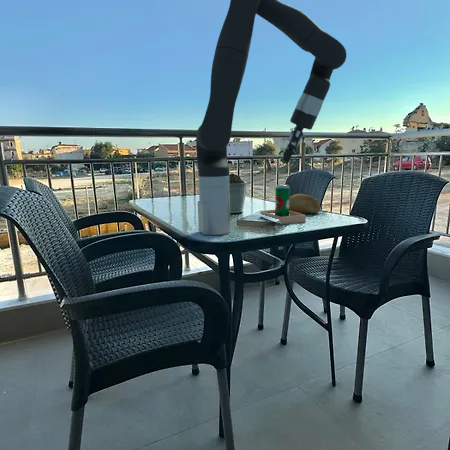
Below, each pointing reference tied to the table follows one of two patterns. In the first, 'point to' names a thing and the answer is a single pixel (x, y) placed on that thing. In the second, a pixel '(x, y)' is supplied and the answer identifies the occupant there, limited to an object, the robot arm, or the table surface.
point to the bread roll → (303, 204)
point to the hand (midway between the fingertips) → (285, 159)
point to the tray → (290, 219)
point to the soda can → (282, 200)
